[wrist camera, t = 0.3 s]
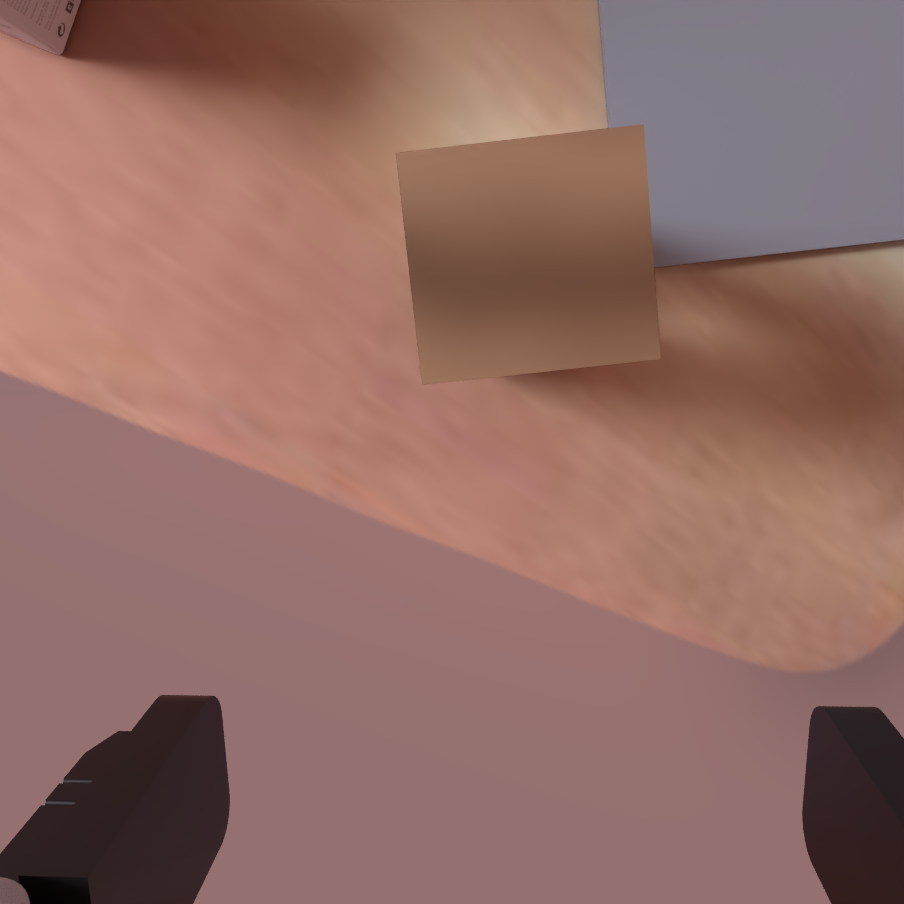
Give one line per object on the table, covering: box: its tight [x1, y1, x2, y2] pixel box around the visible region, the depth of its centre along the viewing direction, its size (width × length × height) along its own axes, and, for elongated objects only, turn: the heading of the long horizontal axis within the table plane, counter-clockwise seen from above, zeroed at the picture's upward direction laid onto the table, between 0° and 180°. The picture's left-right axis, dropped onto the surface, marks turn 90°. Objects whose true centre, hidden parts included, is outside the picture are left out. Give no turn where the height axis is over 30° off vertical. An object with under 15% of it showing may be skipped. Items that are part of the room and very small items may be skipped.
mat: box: [598, 0, 904, 268], centre depth 36 cm, size 14×14×1 cm
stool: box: [396, 124, 661, 385], centre depth 31 cm, size 6×7×14 cm
